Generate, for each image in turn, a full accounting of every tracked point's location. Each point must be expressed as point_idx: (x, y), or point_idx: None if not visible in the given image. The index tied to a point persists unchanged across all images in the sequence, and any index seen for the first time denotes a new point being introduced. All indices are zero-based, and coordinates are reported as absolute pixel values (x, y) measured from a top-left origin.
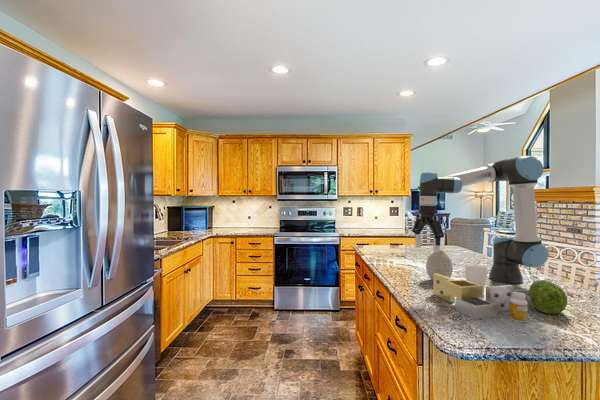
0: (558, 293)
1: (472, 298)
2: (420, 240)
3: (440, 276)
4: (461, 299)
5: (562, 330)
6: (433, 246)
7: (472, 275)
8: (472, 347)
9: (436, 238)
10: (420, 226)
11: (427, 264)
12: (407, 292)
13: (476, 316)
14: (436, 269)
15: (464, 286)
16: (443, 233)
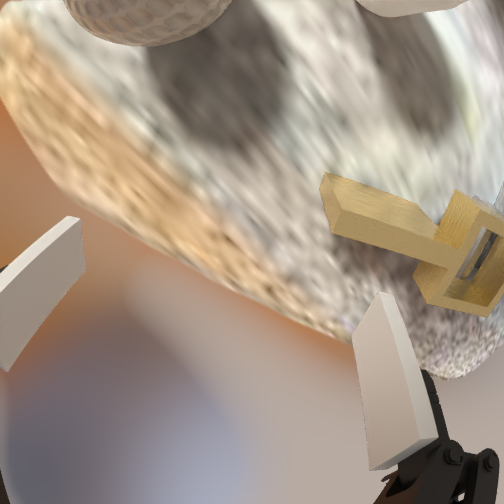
0: None
1: (488, 237)
2: (30, 269)
3: (385, 247)
4: (468, 281)
5: None
6: (359, 383)
7: (428, 9)
8: (480, 363)
9: (405, 460)
10: (5, 500)
11: (112, 41)
12: (250, 258)
13: None
14: (189, 29)
15: (493, 299)
16: (496, 490)
